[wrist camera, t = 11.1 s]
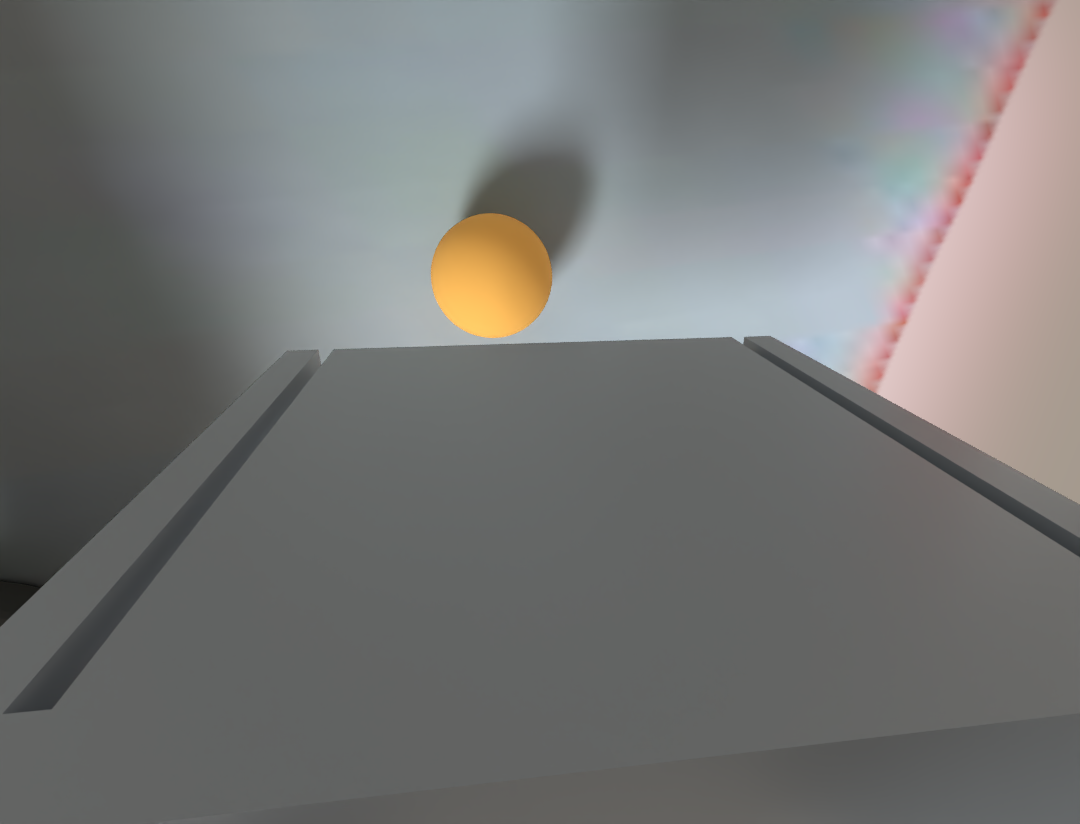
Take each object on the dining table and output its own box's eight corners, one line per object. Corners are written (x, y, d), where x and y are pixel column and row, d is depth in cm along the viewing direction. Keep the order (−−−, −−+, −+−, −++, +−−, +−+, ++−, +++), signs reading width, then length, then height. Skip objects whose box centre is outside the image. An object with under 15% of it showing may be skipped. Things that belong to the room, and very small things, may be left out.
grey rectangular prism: (709, 669, 16) (947, 1165, 8) (356, 704, 15) (223, 1319, 7) (770, 336, 12) (1392, 675, 4) (286, 350, 11) (-252, 871, 3)
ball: (559, 194, 20) (543, 241, 25) (425, 188, 20) (435, 237, 25) (561, 325, 20) (544, 347, 25) (425, 324, 19) (435, 346, 24)
